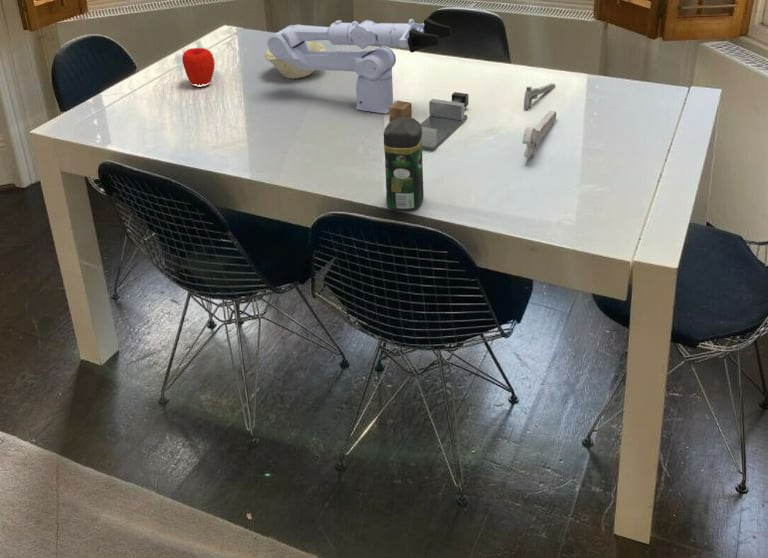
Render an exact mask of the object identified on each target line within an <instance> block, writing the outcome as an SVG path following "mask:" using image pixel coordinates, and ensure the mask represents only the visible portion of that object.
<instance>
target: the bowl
mask: <svg viewBox="0 0 768 558" xmlns="http://www.w3.org/2000/svg"><path fill="white" fill-rule="evenodd" d="M307 43H308V46H309V48H310V50H311V51H327V48H326V47H325V45H324V44H322V42H319V41H317V42H315V41H307ZM263 56H264V58H265V60H266V61H268V62H269V63H271V64H272V66H274V67H275V68H276V69H277V70H278V71H279V72H280V73H281V74H282V76H283V77H284V78H286V77H287V78H286V79H289V78H292V79H291V80H294V78H296V79H300V78H304V77H305V78H306V77H307V76H310V75H312V74H313V73H314V71H315V70H302V69H299V68H297V67H295V66H293V65H291V64H290V63H288V62H286V61H284V60H278V59H276V58H275V57H274V55H273V54H272V53H271V52H270V50H269V48H267V49H266V50H265V51H264V54H263Z"/></svg>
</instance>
